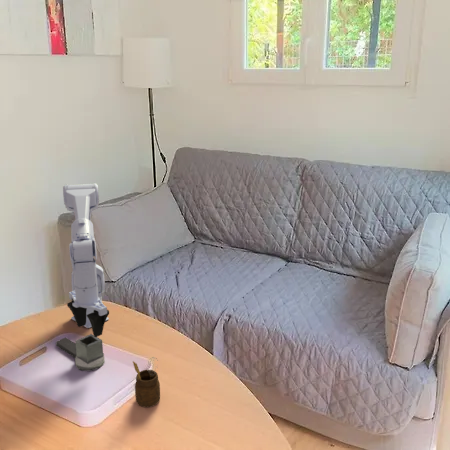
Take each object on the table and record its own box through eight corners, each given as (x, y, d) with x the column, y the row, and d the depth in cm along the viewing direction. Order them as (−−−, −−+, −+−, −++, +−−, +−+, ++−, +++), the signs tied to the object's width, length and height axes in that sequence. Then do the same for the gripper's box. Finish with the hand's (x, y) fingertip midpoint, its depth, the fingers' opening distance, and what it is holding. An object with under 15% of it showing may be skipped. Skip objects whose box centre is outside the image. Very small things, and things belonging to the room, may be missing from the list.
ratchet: (49, 348, 145) (47, 335, 144) (72, 338, 150) (71, 325, 149) (86, 374, 134) (85, 359, 132) (110, 362, 139) (109, 348, 138)
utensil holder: (165, 400, 123) (163, 357, 120) (143, 412, 119) (141, 367, 116) (151, 389, 128) (149, 347, 124) (129, 400, 123) (127, 357, 120)
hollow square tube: (76, 357, 138) (75, 340, 136) (92, 349, 142) (91, 333, 140) (87, 364, 135) (86, 347, 133) (103, 356, 138) (102, 340, 137)
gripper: (57, 280, 134) (61, 326, 138) (88, 297, 125) (92, 346, 129) (80, 273, 139) (84, 317, 143) (112, 288, 130) (115, 335, 134)
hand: (89, 330), depth 137 cm, fingers open, 7 cm apart
